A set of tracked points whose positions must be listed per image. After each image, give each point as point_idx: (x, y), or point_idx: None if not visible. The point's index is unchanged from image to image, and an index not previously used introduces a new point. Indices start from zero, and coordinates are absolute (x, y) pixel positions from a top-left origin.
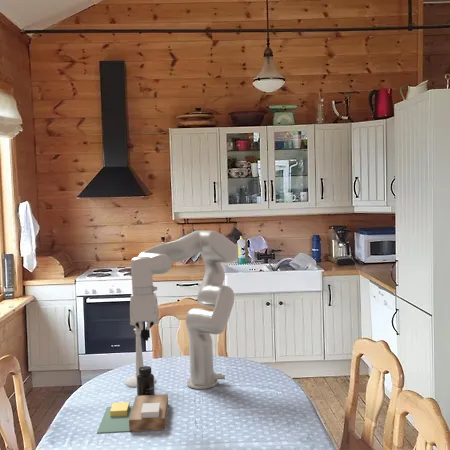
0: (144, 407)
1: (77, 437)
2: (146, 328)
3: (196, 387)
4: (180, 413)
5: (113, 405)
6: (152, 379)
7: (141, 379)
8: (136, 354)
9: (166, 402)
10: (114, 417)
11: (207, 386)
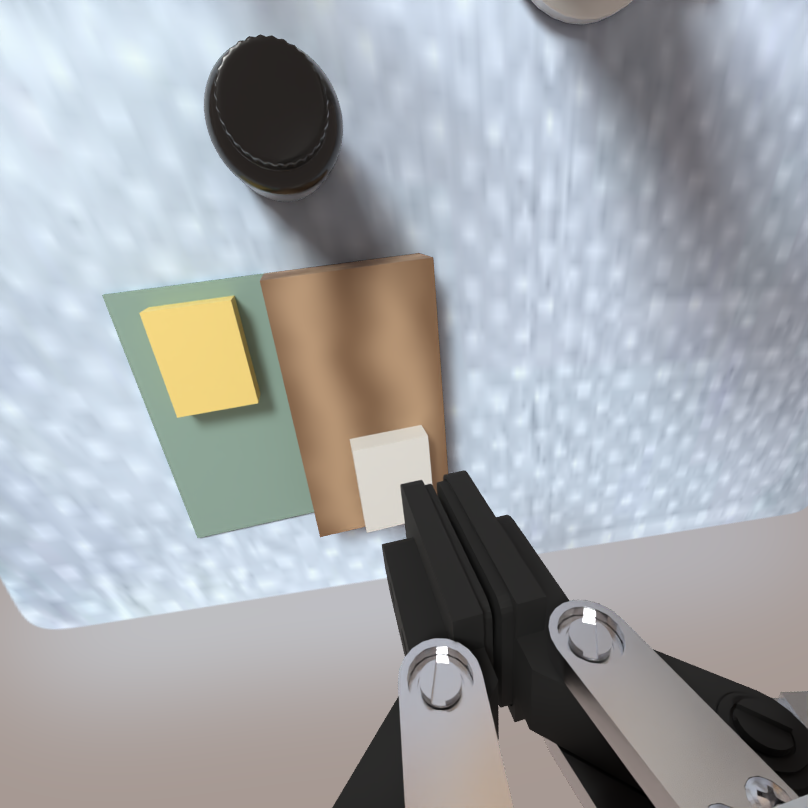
0: (370, 488)
1: (137, 570)
2: (549, 747)
3: (554, 13)
4: (479, 351)
5: (160, 350)
6: (337, 157)
7: (265, 190)
8: None
9: (439, 366)
10: (208, 414)
11: (614, 12)
